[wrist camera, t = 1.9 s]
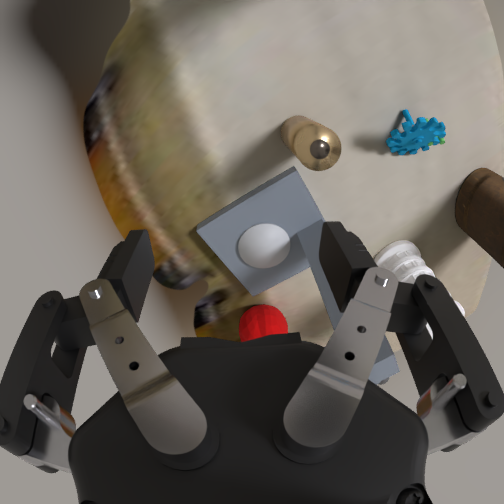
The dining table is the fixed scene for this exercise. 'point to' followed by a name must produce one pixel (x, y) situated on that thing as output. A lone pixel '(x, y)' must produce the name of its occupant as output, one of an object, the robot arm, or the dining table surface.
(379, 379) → the press
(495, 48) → the dining table surface
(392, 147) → the gear
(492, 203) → the wooden container
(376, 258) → the decorative container
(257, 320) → the tomato
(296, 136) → the disc
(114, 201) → the dining table surface
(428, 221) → the dining table surface
